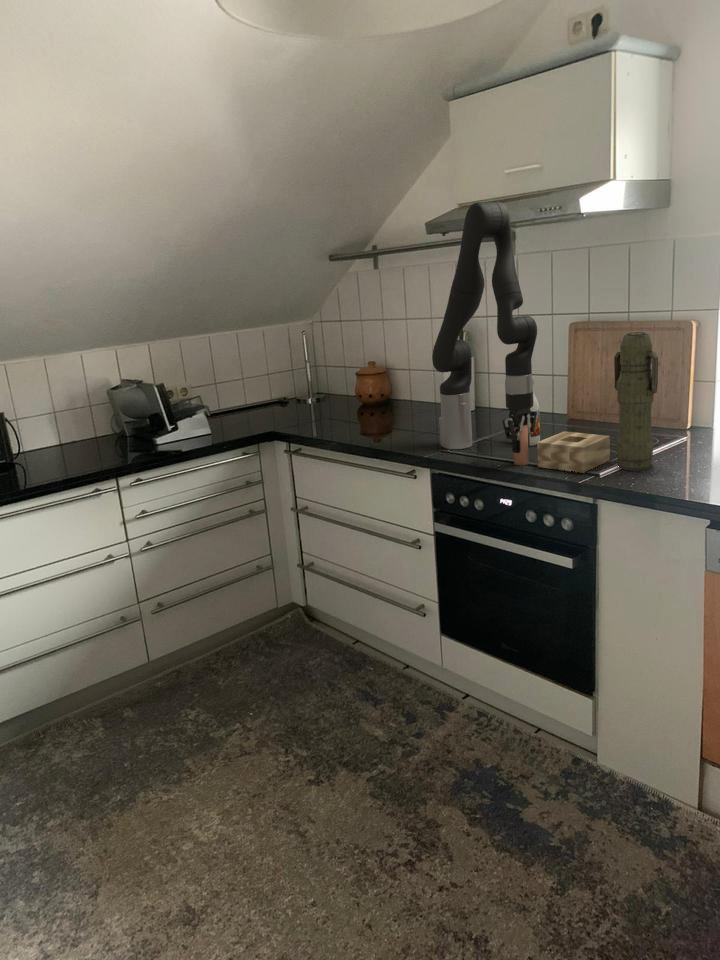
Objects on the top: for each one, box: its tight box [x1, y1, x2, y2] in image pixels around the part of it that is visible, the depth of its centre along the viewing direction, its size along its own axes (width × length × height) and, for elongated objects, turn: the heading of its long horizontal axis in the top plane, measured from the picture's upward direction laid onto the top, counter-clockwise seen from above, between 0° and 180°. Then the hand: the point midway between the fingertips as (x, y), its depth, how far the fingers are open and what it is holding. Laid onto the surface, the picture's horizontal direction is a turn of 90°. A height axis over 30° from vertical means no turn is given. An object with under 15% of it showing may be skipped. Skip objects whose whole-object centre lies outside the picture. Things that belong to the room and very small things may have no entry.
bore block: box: [536, 431, 611, 474], centre depth 204 cm, size 14×14×7 cm
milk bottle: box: [529, 380, 541, 447], centre depth 229 cm, size 8×8×20 cm
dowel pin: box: [513, 424, 529, 466], centre depth 209 cm, size 4×4×11 cm
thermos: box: [613, 331, 659, 472], centre depth 193 cm, size 9×12×35 cm
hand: (520, 450), depth 209 cm, fingers closed on dowel pin, 4 cm apart
